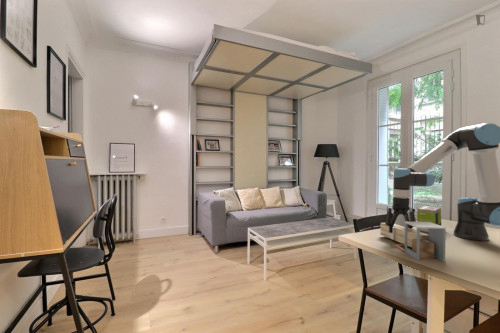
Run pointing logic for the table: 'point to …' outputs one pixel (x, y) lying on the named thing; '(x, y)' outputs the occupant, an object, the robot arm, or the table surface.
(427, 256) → the block
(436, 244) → the grey open frame stool
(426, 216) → the tea box
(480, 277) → the table surface
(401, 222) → the mug
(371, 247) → the table surface
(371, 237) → the table surface
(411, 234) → the wooden beam
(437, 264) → the table surface
